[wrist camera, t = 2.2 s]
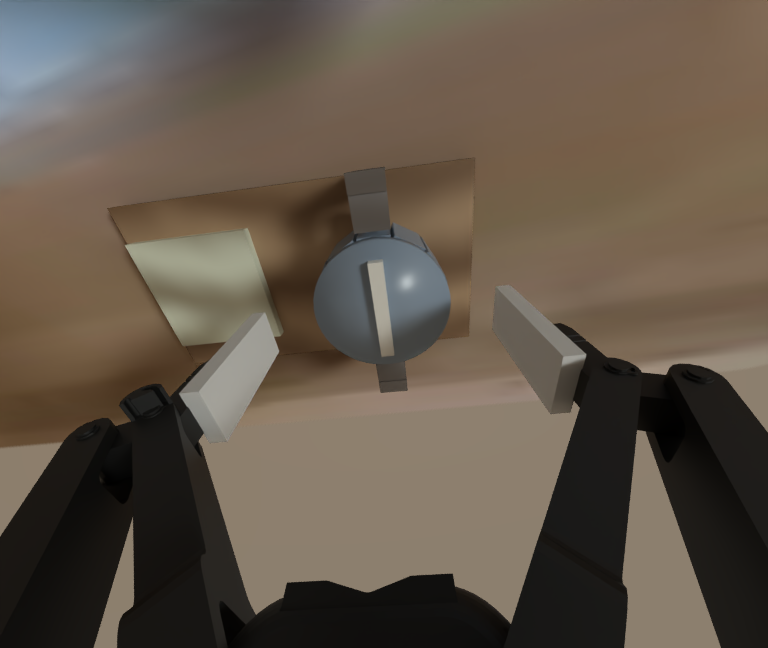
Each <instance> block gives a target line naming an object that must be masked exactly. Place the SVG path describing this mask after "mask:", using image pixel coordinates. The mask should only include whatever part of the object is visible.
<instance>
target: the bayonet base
mask: <svg viewBox="0 0 768 648" xmlns="http://www.w3.org/2000/svg"><path fill="white" fill-rule="evenodd" d="M474 179H475V158H468V159H461V160H453V161H446V162H439V163H432V164H424V165H417V166H410V167H402V168H395V169H388V170H385V167H380V168H372V169H365V170H358V171H352V172H348V173H344V176H337V177H329V178H322V179H315V180H308V181H300V182H293V183H286V184H278V185H271V186H264V187H257V188H249V189H242V190H235V191H227V192H220V193H213V194H206V195H198V196H191V197H184V198H176V199H169V200H162V201H155V202H147V203H140V204H133V205H125V206H119V207H112V208H107V209H108V211H109V213H110V214H111V216H112V218H113V220H114V221H115V223H116V225H117V227H118V228H119V230H120V232H121V234H122V235H123V237H124V239H125V241H126V242H127V245H125V247H126V248H127V250H128V252H129V254H130V255H131V257H132V259H133V261H134V262H135V264H136V266H137V267H138V269H139V271H140V273H141V274H142V276H143V278H144V280H145V281H146V283H147V285H148V287H149V288H150V290H151V292H152V294H153V295H154V297H155V299H156V301H157V302H158V304H159V306H160V307H161V309H162V311H163V313H164V314H165V316H166V318H167V320H168V321H169V323H170V325H171V327H172V328H173V330H174V332H175V334H176V335H177V337H178V339H179V341H180V342H181V344H182V346H186V348H187V350H188V351H189V353H190V355H191V357H192V358H193V360H194V362H195V364H196V363H205V362H206V361H208V360H210V359H211V358H212V357H213V356H214V355H215V354H216V353H217V351H218V350H219V349H220V348H221V347H222V346H223V345H224V344H225V343H226V342H227V341H228V340H229V338H230V337H231V336H232V335H233V334H234V333H235V332H236V331H237V330H238V329H239V328H240V326H241V325H242V324H243V323H244V322H245V321H246V320H247V319H248V318H249V317H250V316H251V314H254V313H263V312H265V313H266V316H267V319H268V322H269V324H270V327H271V330H272V333H273V336H274V338H275V341H276V344H277V347H278V349H279V353H278V355H286V354H296V353H307V352H317V351H327V350H337V349H336V348H335V347H334V346H333V345H332V344H331V343H330V342H329V341H328V340H327V339H326V337H325V336H324V334H323V333H322V331H321V329H320V328H319V326H318V323H317V320H316V317H315V313H314V303H313V300H314V292H315V287H316V284H317V282H318V279H319V277H320V275H321V273H322V270H323V267H324V264H325V262H326V261H327V259H328V257H329V256H330V254H331V252H332V251H333V249H334V247H335V246H336V244H337V243H338V242H340V241H341V240H342V239H343V238H345V237H346V236H347V235H348V234H350V233H351V232H352V231H353V230H354V234H357V233H365V232H373V231H381V230H390V229H391V225H392V223H393V222H394V223H396V224H398V225H400V226H402V227H405V228H407V229H409V230H411V231H414V232H416V233H418V234H419V236H421V237H422V238H423V240H424V241H425V243H426V244H427V246H428V247H429V249H430V250H431V252H432V253H433V255H434V256H435V258H436V260H437V261H438V263H439V265H440V267H441V269H442V271H443V272H444V274H445V276H446V279H447V284H448V287H449V291H450V298H451V307H450V314H449V319H448V321H447V324H446V326H445V328H444V330H443V332H442V334H441V335H440V336H439V338H438V339H448V338H458V337H468V336H469V320H470V292H471V264H472V235H473V207H474ZM438 339H437V340H438ZM376 367H377V373H378V379H379V386H380V392H381V393H385V392H396V391H407V390H408V389H407V379H406V369H405V361H403V362H399V363H393V364H376Z"/></svg>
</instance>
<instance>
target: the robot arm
mask: <svg viewBox="0 0 768 648" xmlns="http://www.w3.org/2000/svg"><path fill="white" fill-rule="evenodd" d="M492 330H493V331H494V333H495V334H496V336H497V337H498V339H499V340H500V341H501V343H502V344H503V346H504V347H505V349H506V350H507V352H508V353H509V355H510V356H511V358H512V359H513V360H514V362H515V363H516V365H517V366H518V368H519V369H520V371H521V372H522V374H523V375H524V376H525V378H526V379H527V381H528V382H529V384H530V385H531V387H532V388H533V390H534V391H535V393H536V394H537V395H538V397H539V398H540V400H541V401H542V403H543V404H544V406H545V407H546V408H547V410H548V411H549V413H550V414H556V413H569V412H571V409H572V405H573V402H574V401H575V403H576V404H577V405H578V406H579V407H580V409H579V412H578V416H577V419H576V422H575V425H574V428H573V431H572V434H571V438H570V441H569V444H568V447H567V450H566V453H565V457H564V460H563V463H562V466H561V469H560V472H559V476H558V479H557V482H556V485H555V488H554V491H553V495H552V498H551V501H550V504H549V507H548V510H547V514H546V517H545V520H544V523H543V527H542V529H541V532H540V535H539V538H538V541H537V544H536V547H535V550H534V554H533V557H532V560H531V563H530V566H529V569H528V572H527V575H526V579H525V582H524V585H523V588H522V591H521V594H520V598H519V601H518V604H517V607H516V611H515V614H514V616H513V620H512V623H511V624H510V623H509V622H508V620H507V619H505V617H503V615H501V614H500V613H499V612H498V611H497V610H496V609H495V608H494V607H493V606H491V605H490V604H489V603H488V602H486V601H485V600H483V599H482V598H480V597H478V596H477V595H475V594H473V593H471V592H469V591H466V590H465V589H461V588H458V587H455V585H454V579H453V574H436V575H417V576H409V577H407V578H405V579H402V580H400V581H397V582H395V583H392V584H390V585H387V586H385V587H382V588H380V589H377V590H375V591H372V592H369V593H366V592H361V591H359V590H355V589H352V588H349V587H346V586H343V585H339V584H336V583H333V582H330V581H309V582H291V583H287V585H286V589H285V594H284V598H282V599H279V600H277V601H276V602H274V603H272V604H270V605H269V606H268V607H266V608H265V609H263V610H262V611H261V612H259V613H258V614H257V615H256V614H255V612H254V611H253V609H252V607H251V605H250V602H249V600H248V597H247V595H246V591H245V588H244V585H243V581H242V578H241V575H240V571H239V568H238V565H237V562H236V558H235V555H234V552H233V548H232V545H231V542H230V538H229V535H228V532H227V529H226V525H225V522H224V519H223V515H222V512H221V509H220V505H219V502H218V499H217V495H216V492H215V489H214V485H213V482H212V479H211V476H210V473H209V469H208V466H207V462H206V459H205V456H204V452H203V449H202V446H201V445H200V443H199V442H198V441H199V439H200V438H201V436H202V435H203V434H204V435H205V436H206V438H207V440H208V441H209V443H218V442H227V441H228V440H229V438H230V436H231V434H232V433H233V431H234V429H235V427H236V426H237V424H238V422H239V421H240V419H241V417H242V415H243V414H244V412H245V410H246V408H247V407H248V405H249V403H250V401H251V400H252V398H253V396H254V395H255V393H256V391H257V389H258V388H259V386H260V384H261V382H262V381H263V379H264V377H265V375H266V374H267V372H268V370H269V368H270V367H271V365H272V363H273V362H274V360H275V358H276V356H277V355H278V353H279V349H278V347H277V344H276V341H275V338H274V336H273V333H272V330H271V327H270V324H269V322H268V319H267V316H266V313H265V312H263V313H254V314H251V316H250V317H249V318H248V319H247V320H246V321H245V322H244V323H243V324H242V325H241V326H240V328H239V329H238V330H237V331H236V332H235V333H234V334H233V335H232V336H231V337H230V338H229V340H228V341H227V342H226V343H225V344H224V345H223V346H222V347H221V348H220V349H219V350H218V351H217V353H216V354H215V355H214V356H213V357H212V358H211V359H210V360H208V361H206V362H205V363H203V364H202V365H201V366H199V367H198V368H197V369H196V370H195V371H194V372H193V373H192V374H191V376H189V377H188V378H187V380H186V382H184V383H183V384H182V385H181V386H180V387H179V388H178V389H177V390H176V391H175V392H174V393H173V394H172V395H171V397H169V396H168V394H167V393H166V391H165V390H164V388H163V387H162V385H161V384H151V385H147V386H144V387H141V388H139V389H137V390H135V391H133V392H132V393H130V394H129V395H127V396H126V397H125V398H124V399H123V400H122V401H121V402H120V405H119V406H120V408H121V409H122V410H123V411H124V413H125V414H126V415H127V416H128V418H129V419H130V420H131V422H128V423H125V424H122V425H118V426H115V425H114V424H113V423H112V421H111V420H110V419H108V418H101V419H97V420H94V421H92V422H89V423H86V424H84V425H83V426H80V427H79V428H77V429H76V430H75V431H74V432H72V433H71V434H70V435H69V436H68V437H67V438H66V439H65V440H64V442H63V443H62V445H61V446H60V448H59V449H58V451H57V452H56V454H55V455H54V457H53V458H52V460H51V462H50V463H49V464H48V466H47V467H46V469H45V470H44V472H43V473H42V475H41V476H40V478H39V479H38V481H37V482H36V484H35V485H34V487H33V488H32V490H31V491H30V493H29V494H28V496H27V497H26V499H25V500H24V502H23V503H22V505H21V506H20V508H19V509H18V511H17V512H16V514H15V515H14V517H13V518H12V520H11V521H10V523H9V524H8V526H7V527H6V529H5V530H4V532H3V533H2V535H1V536H0V648H93V647H94V644H95V641H96V637H97V634H98V631H99V627H100V624H101V621H102V618H103V614H104V611H105V608H106V604H107V601H108V598H109V594H110V591H111V588H112V584H113V581H114V578H115V574H116V571H117V568H118V564H119V561H120V557H121V554H122V551H123V548H124V544H125V541H126V537H127V534H128V531H129V527H130V524H131V521H132V517H133V540H134V605H133V607H132V608H131V609H129V610H128V611H127V612H125V613H124V614H123V615H122V617H121V619H120V621H119V627H118V635H117V648H624V643H625V631H626V619H627V602H628V597H627V596H628V595H627V588H626V587H625V586H624V585H623V581H622V573H623V572H622V571H623V562H624V553H625V543H626V533H627V523H628V513H629V502H630V493H631V483H632V473H633V463H634V454H635V444H636V434H637V433H636V432H637V430H642V431H646V434H647V437H648V440H649V443H650V445H651V448H652V451H653V454H654V457H655V460H656V462H657V465H658V468H659V471H660V474H661V477H662V480H663V483H664V485H665V488H666V491H667V494H668V497H669V500H670V503H671V505H672V508H673V511H674V514H675V517H676V520H677V523H678V526H679V528H680V531H681V534H682V537H683V540H684V542H685V546H686V548H687V551H688V554H689V557H690V560H691V562H692V566H693V568H694V571H695V574H696V577H697V580H698V583H699V586H700V589H701V591H702V594H703V597H704V600H705V603H706V606H707V608H708V611H709V614H710V617H711V620H712V623H713V626H714V629H715V631H716V634H717V637H718V640H719V643H720V646H721V648H768V432H767V431H766V430H765V428H764V427H763V426H762V425H761V423H760V422H759V421H758V419H757V418H756V417H755V416H754V414H753V413H752V412H751V410H750V409H749V408H748V407H747V405H746V404H745V403H744V401H743V400H742V399H741V398H740V396H739V395H738V394H737V392H736V391H735V390H734V389H733V387H732V386H731V385H730V383H729V382H728V381H727V380H726V379H725V378H724V377H723V376H721V375H720V374H718V373H716V372H714V371H712V370H710V369H708V368H704V367H702V366H696V365H692V364H675V365H672V366H671V367H670V368H669V370H668V372H667V375H661V374H651V373H642V372H641V370H640V369H639V368H638V367H637V366H635V365H633V364H631V363H630V362H627V361H624V360H621V359H617V358H607V357H606V356H605V355H603V354H602V353H601V352H600V351H599V350H597V349H596V348H595V347H594V346H593V345H591V344H590V343H589V342H588V341H586V340H585V339H584V338H583V337H582V336H580V335H579V334H578V333H577V332H576V331H575V330H573V329H572V328H570V327H568V326H566V325H564V324H561V323H558V324H552V323H551V322H550V321H549V320H548V319H547V318H546V317H545V316H544V315H542V314H541V313H540V312H539V311H538V310H537V309H536V308H535V307H534V306H532V305H531V304H530V303H529V302H528V301H527V300H526V299H525V298H524V297H522V296H521V295H520V294H519V293H518V292H517V291H516V290H515V289H514V288H513V287H511V286H510V285H505V286H496V288H495V301H494V314H493V327H492Z"/></svg>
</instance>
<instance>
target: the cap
mask: <svg viewBox="0 0 768 648" xmlns="http://www.w3.org/2000/svg"><path fill="white" fill-rule="evenodd" d="M313 303H314V313H315V317H316V320H317V323H318V326H319V328H320V329H321V331H322V333H323V334H324V336H325V337H326V339H327V340H328V341H329V342H330V343H331V344H332V345H333V346H334V347H335V348H336V349H338V350H339V351H341V352H342V353H343V354H345V355H347V356H349V357H351V358H353V359H356V360H359V361H362V362H366V363H372V364H393V363H399V362H403V361H406V360H409V359H411V358H414V357H416V356H418V355H420V354H421V353H423V352H424V351H426V350H427V349H428V348H429V347H430V346H432V345H433V344H434V343H435V341H436V340H437V339H438V338H439V336H440V335H441V334H442V332H443V330H444V328H445V326H446V324H447V321H448V319H449V314H450V307H451V298H450V291H449V287H448V284H447V279H446V276H445V274H444V272H443V271H442V269H441V267H440V265H439V263H438V261H437V260H436V258H435V256H434V255H433V253H432V252H431V250H430V249H429V247H428V246H427V244H426V243H425V241H424V240H423V238H422V237H421V236H419V234H418V233H416V232H414V231H411V230H409V229H407V228H405V227H402V226H400V225H398V224H396V223H394V222H393V223H392V225H391V229H390V230H381V231H373V232H365V233H357V234H354V230H353V231H352V232H351V233H350V234H348V235H347V236H346V237H345V238H343V239H342V240H341V241H340V242H338V243H337V244H336V246H335V247H334V249H333V251H332V252H331V254H330V256H329V257H328V259H327V261H326V262H325V264H324V267H323V270H322V273H321V275H320V277H319V279H318V282H317V284H316V287H315V292H314V300H313Z"/></svg>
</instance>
